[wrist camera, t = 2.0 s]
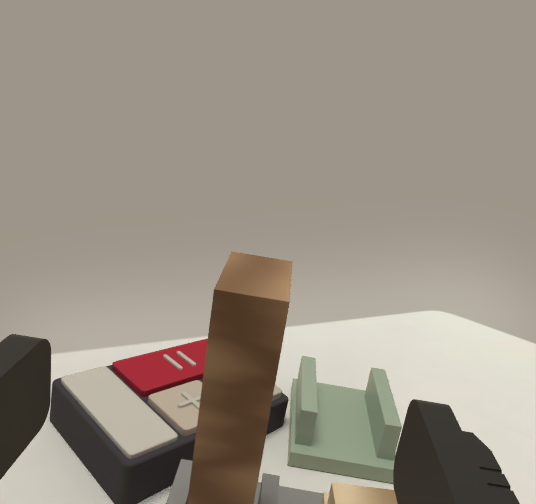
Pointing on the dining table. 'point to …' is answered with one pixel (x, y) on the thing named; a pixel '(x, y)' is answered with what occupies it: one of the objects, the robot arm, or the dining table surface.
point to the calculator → (138, 418)
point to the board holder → (343, 426)
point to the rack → (266, 498)
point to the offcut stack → (358, 495)
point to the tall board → (239, 378)
